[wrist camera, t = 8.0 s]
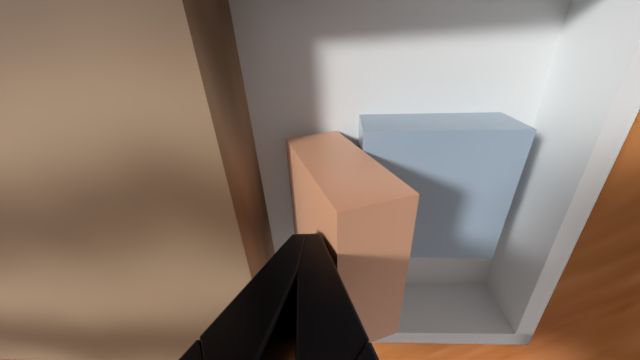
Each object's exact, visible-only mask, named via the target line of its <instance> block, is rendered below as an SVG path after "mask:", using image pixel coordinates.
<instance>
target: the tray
mask: <svg viewBox="0 0 640 360" xmlns="http://www.w3.org/2000/svg"><path fill="white" fill-rule="evenodd" d="M228 1H229V6H230V11H231V17H232V22H233V28H234V33H235V39H236V44H237V50H238V55H239V60H240V66H241V71H242V77H243V82H244V88H245V93H246V99H247V104H248V109H249V115H250V120H251V126H252V131H253V137H254V142H255V148H256V153H257V158H258V164H259V169H260V175H261V180H262V186H263V191H264V196H265V202H266V207H267V213H268V218H269V224H270V229H271V235H272V240H273V245H274V251H275V253H276V252H277V251H278V249H279V248H280V247H281V246H282V245H283V244H284V243H285V242H286V241H287V240H288V238H289V237H290V236H291V235H293V234H294V224H293V213H292V203H291V192H290V182H289V171H288V161H287V150H286V140H285V138H290V137H298V136H305V135H312V134H319V133H326V132H334V131H338V132H339V133H340V134H342V135H343V136H344V137H346V138H347V139H348V140H350V141H351V142H352V143H354V144H355V145H356V146H357V147H358V128H359V115H363V114H421V113H478V112H502V113H504V114H506V115H508V116H510V117H512V118H514V119H516V120H518V121H520V122H522V123H525V124H527V125H529V126H531V127H533V128H535V129H537V130H536V133H535V136H534V139H533V142H532V145H531V148H530V151H529V154H528V157H527V159H526V162H525V165H524V168H523V171H522V174H521V177H520V180H519V183H518V186H517V188H516V191H515V194H514V197H513V200H512V203H511V206H510V209H509V212H508V214H507V217H506V220H505V223H504V226H503V229H502V232H501V235H500V238H499V241H498V243H497V246H496V249H495V252H494V255H493V258H492V259H488V258H423V257H410V258H409V264H408V271H407V277H406V283H405V290H404V296H403V302H402V309H401V315H400V321H399V327H398V333H395V334H393V335H390V336H387V337H384V338H382V339H379V340H376V341H374V342H387V343H453V344H519V345H528V344H529V342H530V340H531V338H532V336H533V334H534V332H535V330H536V327H537V325H538V323H539V321H540V319H541V317H542V315H543V313H544V310H545V308H546V306H547V304H548V302H549V300H550V298H551V296H552V294H553V291H554V289H555V287H556V285H557V283H558V281H559V279H560V277H561V274H562V272H563V270H564V268H565V266H566V264H567V262H568V260H569V257H570V255H571V253H572V251H573V249H574V247H575V245H576V243H577V241H578V238H579V236H580V234H581V232H582V230H583V228H584V226H585V224H586V221H587V219H588V217H589V215H590V213H591V211H592V209H593V207H594V205H595V202H596V200H597V198H598V196H599V194H600V192H601V190H602V188H603V185H604V183H605V181H606V179H607V177H608V175H609V173H610V171H611V169H612V166H613V164H614V162H615V160H616V158H617V156H618V154H619V152H620V149H621V147H622V145H623V143H624V141H625V139H626V137H627V135H628V133H629V130H630V128H631V126H632V124H633V122H634V120H635V118H636V116H637V113H638V111H639V109H640V0H228Z"/></svg>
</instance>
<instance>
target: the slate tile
mask: <svg viewBox="0 0 640 360" xmlns="http://www.w3.org/2000/svg"><path fill="white" fill-rule="evenodd" d="M536 130H537V129H535V128H533V127H531V126H529V125H527V124H525V123H522V122H520V121H518V120H516V119H514V118H512V117H510V116H508V115H506V114H504V113H502V112H478V113H421V114H363V115H359V128H358V147H359V148H360V149H361V150H363V151H364V152H365V153H367V154H368V155H369V156H371V157H372V158H373V159H374V160H376V161H377V162H378V163H380V164H381V165H382V166H384V167H385V168H386V169H388V170H389V171H390V172H391V173H393V174H394V175H395V176H397V177H398V178H399V179H401V180H402V181H403V182H405V183H406V184H407V185H408V186H410V187H411V188H412V189H414V190H415V191H416V192H418V193H419V194H420V195H419V201H418V207H417V214H416V220H415V226H414V233H413V239H412V245H411V252H410V257H423V258H488V259H492V258H493V255H494V252H495V249H496V246H497V243H498V241H499V238H500V235H501V232H502V229H503V226H504V223H505V220H506V217H507V214H508V212H509V209H510V206H511V203H512V200H513V197H514V194H515V191H516V188H517V186H518V183H519V180H520V177H521V174H522V171H523V168H524V165H525V162H526V159H527V157H528V154H529V151H530V148H531V145H532V142H533V139H534V136H535V133H536Z"/></svg>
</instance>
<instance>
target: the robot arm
mask: <svg viewBox="0 0 640 360" xmlns="http://www.w3.org/2000/svg"><path fill="white" fill-rule="evenodd" d="M178 360H379V359H378V356H377V354H376V352H375V350H374V348H373V346H372V344H371V343H370V342H369V338H368V335H367V333H366V331H365V329H364V327H363V325H362V322H361V320H360V318H359V316H358V314H357V312H356V310H355V307H354V305H353V303H352V301H351V299H350V297H349V294H348V292H347V290H346V288H345V286H344V284H343V281H342V279H341V277H340V275H339V273H338V271H337V268H336V266H335V264H334V262H333V260H332V258H331V256H330V253H329V251H328V249H327V247H326V245H325V243H324V240H323V238H322V236H321V235H320V234H318V233H315V234H293V235H291V236H290V237H289V238H288V240H287V241H286V242H285V243H284V244H283V245H282V246H281V247H280V248H279V249H278V251H277V252H276V253H275V254H274V255H273V256H272V257H271V258H270V259H269V261H268V262H267V263H266V264H265V265H264V266H263V267H262V268H261V269H260V270H259V272H258V273H257V274H256V275H255V276H254V277H253V278H252V279H251V280H250V281H249V283H248V284H247V285H246V286H245V287H244V288H243V289H242V290H241V291H240V293H239V294H238V295H237V296H236V297H235V298H234V299H233V300H232V301H231V302H230V304H229V305H228V306H227V307H226V308H225V309H224V310H223V311H222V312H221V313H220V315H219V316H218V317H217V318H216V319H215V320H214V321H213V322H212V323H211V325H210V326H209V327H208V328H207V329H206V330H205V331H204V332H203V333H202V334H201V336H200V340H196V341H195V342H194V343H193V344H192V345H191V346H190V347H189V349H188V350H187V351H186V352H185V353H184V354H183V355H182V356H181V357H180V358H179V359H178Z"/></svg>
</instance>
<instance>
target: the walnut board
mask: <svg viewBox="0 0 640 360" xmlns="http://www.w3.org/2000/svg"><path fill="white" fill-rule="evenodd" d="M274 254H275V251H274V245H273V240H272V235H271V229H270V224H269V218H268V213H267V207H266V202H265V196H264V191H263V186H262V180H261V175H260V169H259V164H258V158H257V153H256V148H255V142H254V137H253V131H252V126H251V120H250V115H249V109H248V104H247V99H246V93H245V88H244V82H243V77H242V71H241V66H240V60H239V55H238V50H237V44H236V39H235V33H234V28H233V22H232V17H231V11H230V6H229V1H228V0H0V359H23V360H178V359H179V358H180V357H181V356H182V355H183V354H184V353H185V352H186V351H187V350H188V349H189V347H190V346H191V345H192V344H193V343H194V342H195V341H196V340H200V336H201V334H202V333H203V332H204V331H205V330H206V329H207V328H208V327H209V326H210V325H211V323H212V322H213V321H214V320H215V319H216V318H217V317H218V316H219V315H220V313H221V312H222V311H223V310H224V309H225V308H226V307H227V306H228V305H229V304H230V302H231V301H232V300H233V299H234V298H235V297H236V296H237V295H238V294H239V293H240V291H241V290H242V289H243V288H244V287H245V286H246V285H247V284H248V283H249V281H250V280H251V279H252V278H253V277H254V276H255V275H256V274H257V273H258V272H259V270H260V269H261V268H262V267H263V266H264V265H265V264H266V263H267V262H268V261H269V259H270V258H271V257H272V256H273V255H274Z"/></svg>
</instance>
